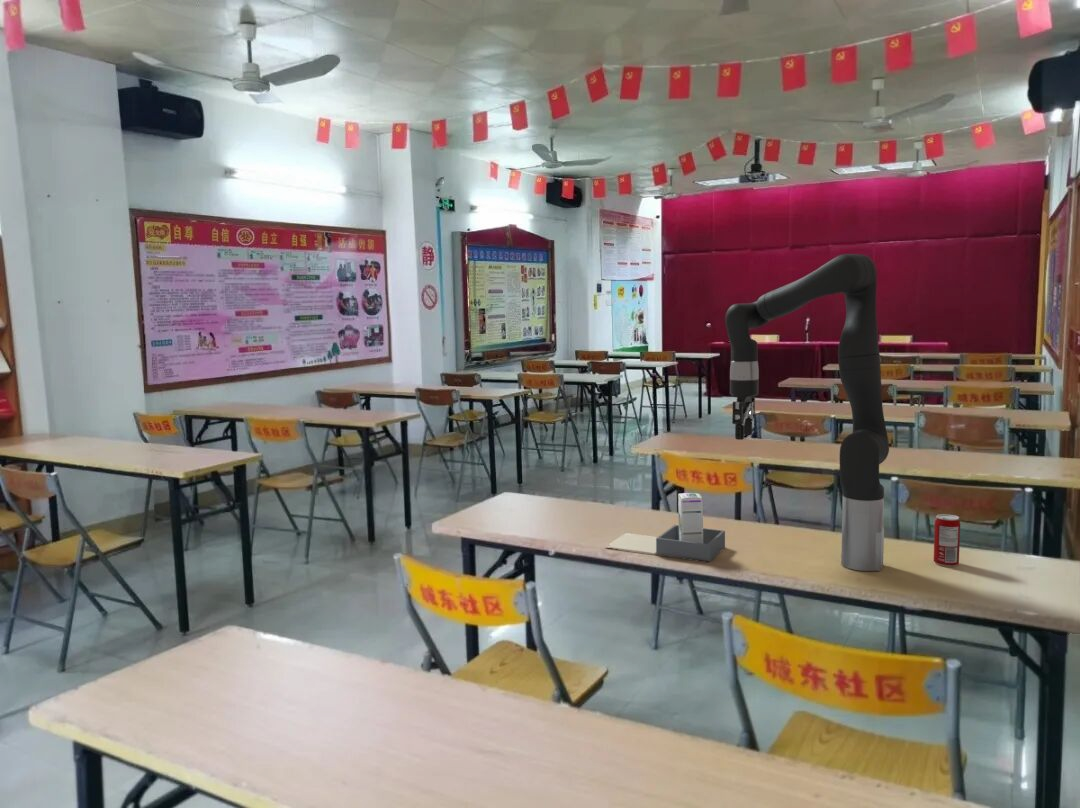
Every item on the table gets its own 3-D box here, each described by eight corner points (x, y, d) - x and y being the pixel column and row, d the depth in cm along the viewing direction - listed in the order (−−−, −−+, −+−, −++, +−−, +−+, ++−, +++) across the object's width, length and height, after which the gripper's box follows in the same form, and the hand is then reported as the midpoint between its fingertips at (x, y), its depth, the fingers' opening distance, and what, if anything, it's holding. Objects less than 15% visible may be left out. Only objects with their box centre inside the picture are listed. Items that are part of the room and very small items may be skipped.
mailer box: (724, 547, 209) (725, 530, 208) (709, 562, 197) (709, 544, 196) (625, 534, 223) (625, 519, 222) (605, 548, 211) (605, 531, 210)
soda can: (946, 559, 195) (947, 511, 194) (964, 565, 190) (966, 517, 188) (928, 561, 193) (929, 514, 192) (945, 568, 188) (947, 519, 187)
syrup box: (704, 552, 204) (703, 497, 202) (681, 552, 204) (680, 497, 202) (700, 545, 209) (700, 492, 208) (677, 545, 209) (677, 492, 208)
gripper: (751, 380, 204) (751, 442, 206) (764, 375, 217) (764, 434, 219) (722, 379, 208) (722, 440, 210) (737, 375, 220) (737, 432, 222)
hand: (743, 437), depth 214 cm, fingers open, 8 cm apart
